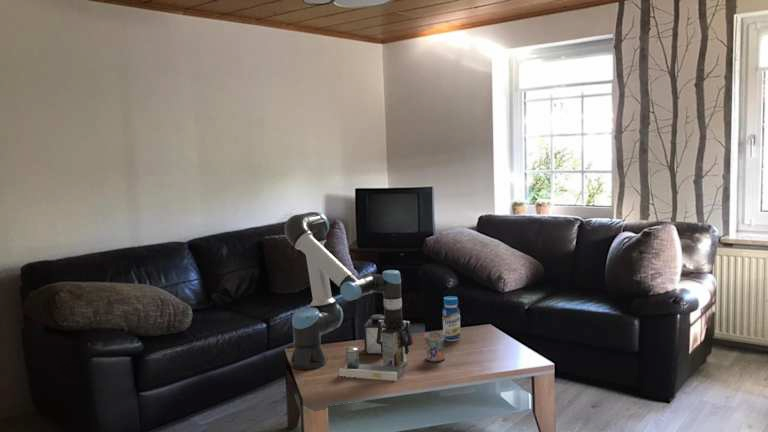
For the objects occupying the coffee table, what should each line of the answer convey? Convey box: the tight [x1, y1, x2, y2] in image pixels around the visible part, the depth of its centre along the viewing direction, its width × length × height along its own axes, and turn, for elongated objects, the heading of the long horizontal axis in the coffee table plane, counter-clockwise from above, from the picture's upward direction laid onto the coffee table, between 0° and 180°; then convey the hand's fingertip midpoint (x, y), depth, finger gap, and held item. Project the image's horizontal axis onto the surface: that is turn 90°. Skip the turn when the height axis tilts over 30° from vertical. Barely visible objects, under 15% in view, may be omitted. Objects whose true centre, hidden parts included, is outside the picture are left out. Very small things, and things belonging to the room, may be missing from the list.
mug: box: [423, 331, 446, 362], centre depth 264 cm, size 12×9×11 cm
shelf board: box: [338, 363, 404, 382], centre depth 249 cm, size 24×10×3 cm, turn 72°
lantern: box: [363, 292, 387, 356], centre depth 277 cm, size 11×11×28 cm
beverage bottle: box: [441, 295, 462, 342], centre depth 290 cm, size 8×8×20 cm
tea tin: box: [345, 346, 360, 369], centre depth 252 cm, size 5×5×8 cm
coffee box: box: [382, 326, 408, 368], centre depth 257 cm, size 9×6×16 cm
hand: (395, 360), depth 257 cm, fingers closed on coffee box, 8 cm apart
